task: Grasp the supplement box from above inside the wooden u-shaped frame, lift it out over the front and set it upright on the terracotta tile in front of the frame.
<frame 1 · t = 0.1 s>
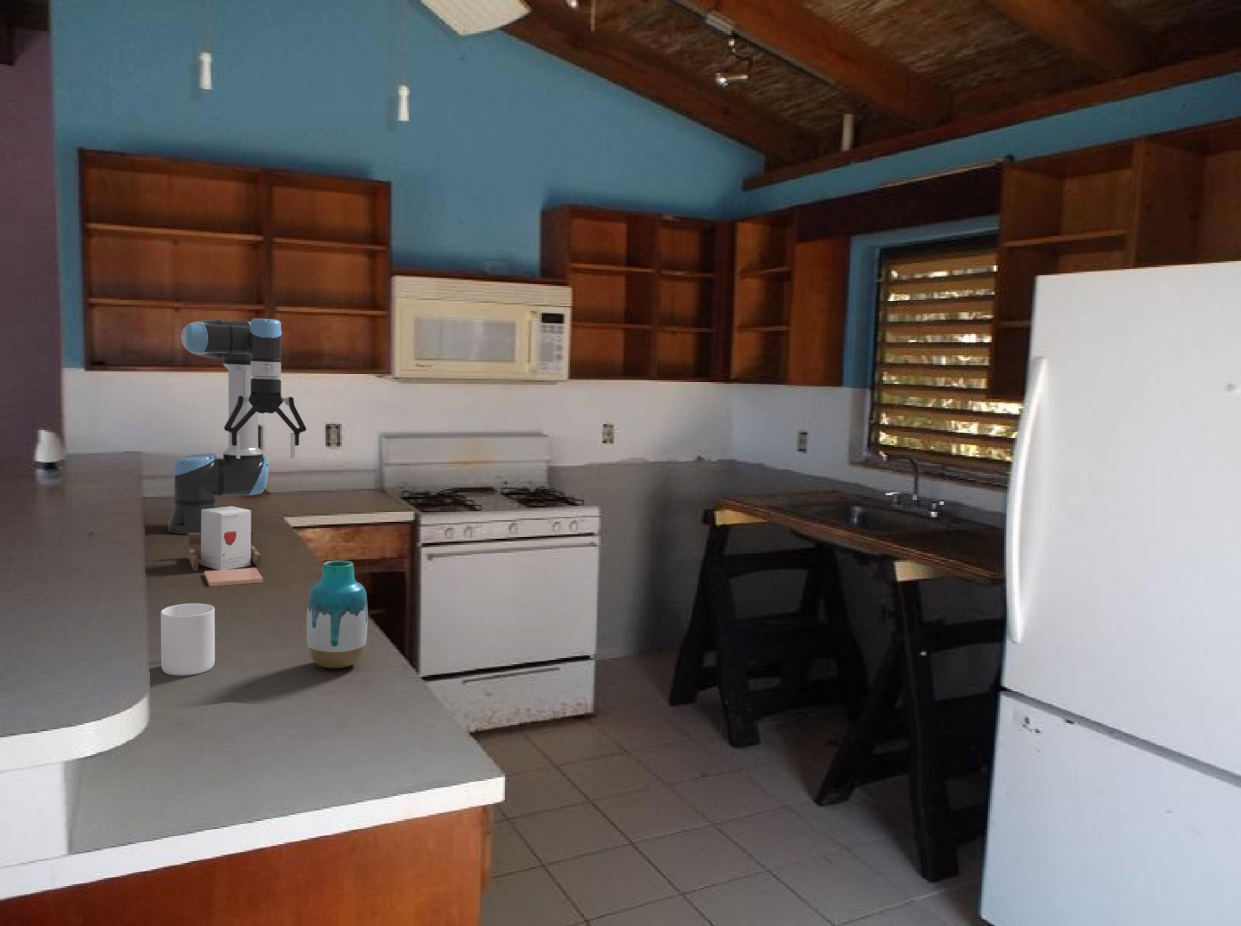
hand: (265, 458, 243), 28 cm above the counter, tool pointing down, fingers open, 13 cm apart
wooden u-shaped frame: (226, 565, 238), on the counter
supplement box: (226, 566, 238), on the counter
vase: (336, 666, 167), on the counter
mug: (187, 666, 164), on the counter
terracotta tile: (233, 578, 225), on the counter
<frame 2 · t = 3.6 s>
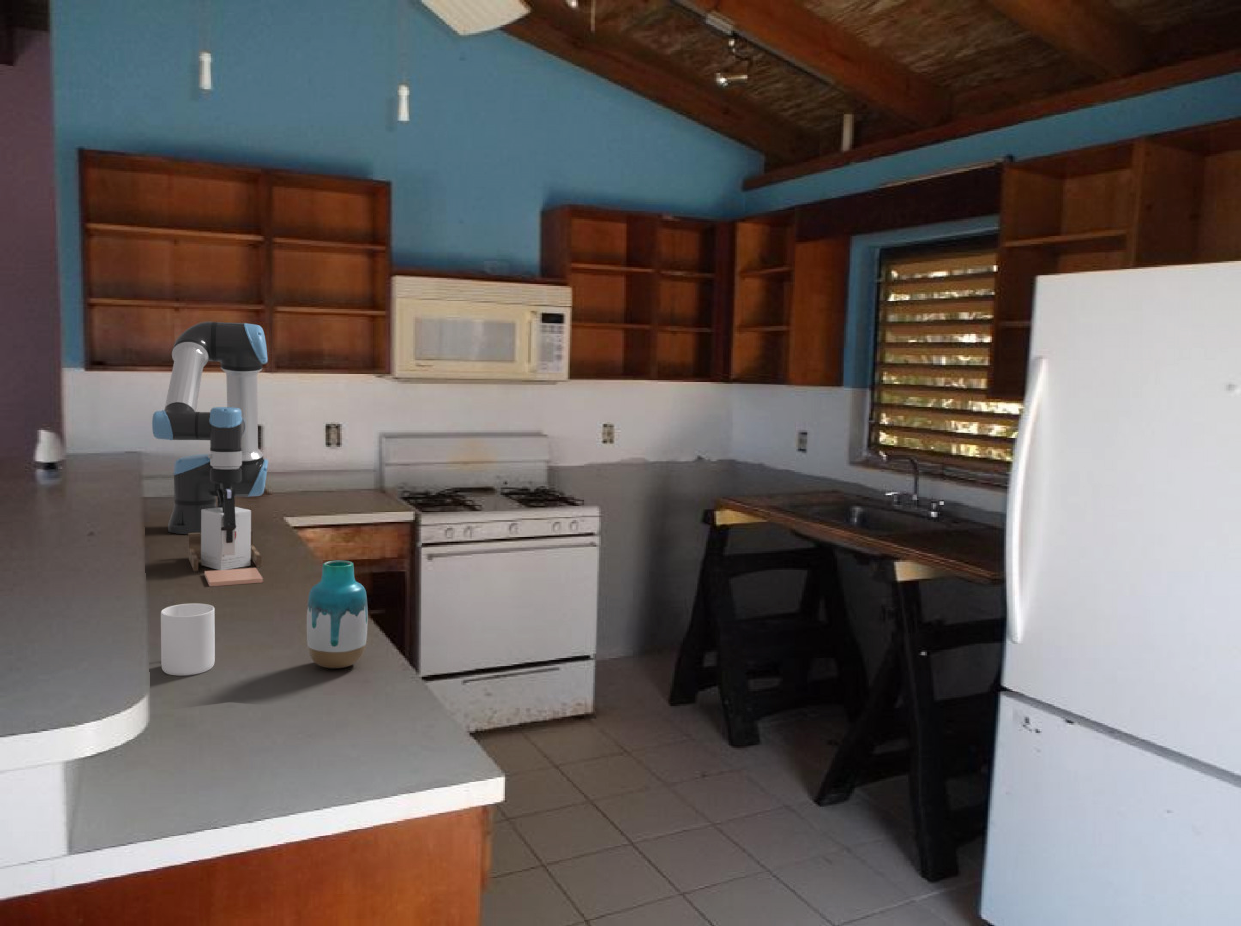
hand: (226, 550, 238), 4 cm above the counter, tool pointing down, fingers closed on supplement box, 11 cm apart
supplement box: (226, 566, 238), on the counter, touching gripper
everything else where it was.
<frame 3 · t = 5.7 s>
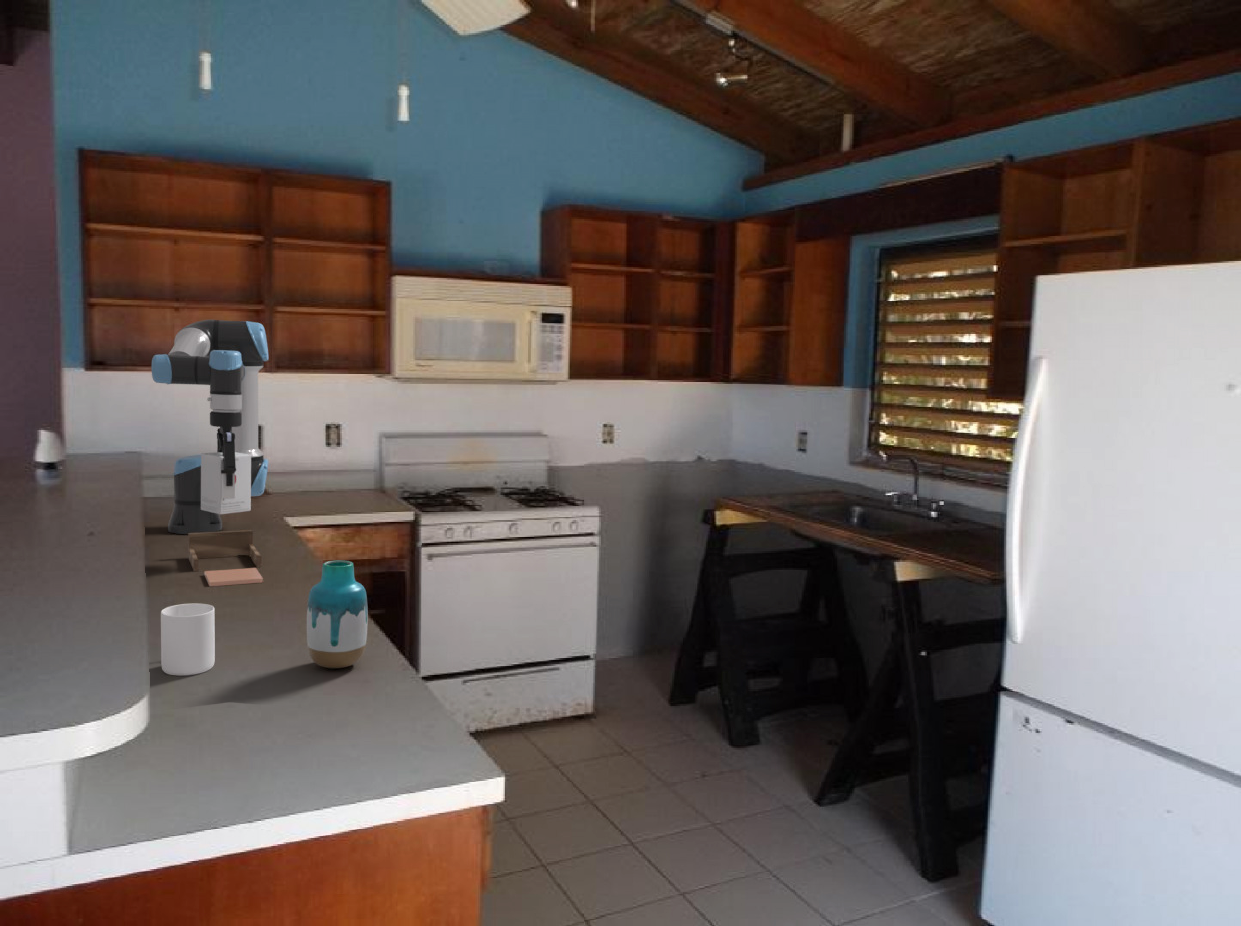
hand: (226, 494, 236), 19 cm above the counter, tool pointing down, fingers closed on supplement box, 11 cm apart
supplement box: (226, 511, 237), point 14 cm above the counter, touching gripper
everything else where it was.
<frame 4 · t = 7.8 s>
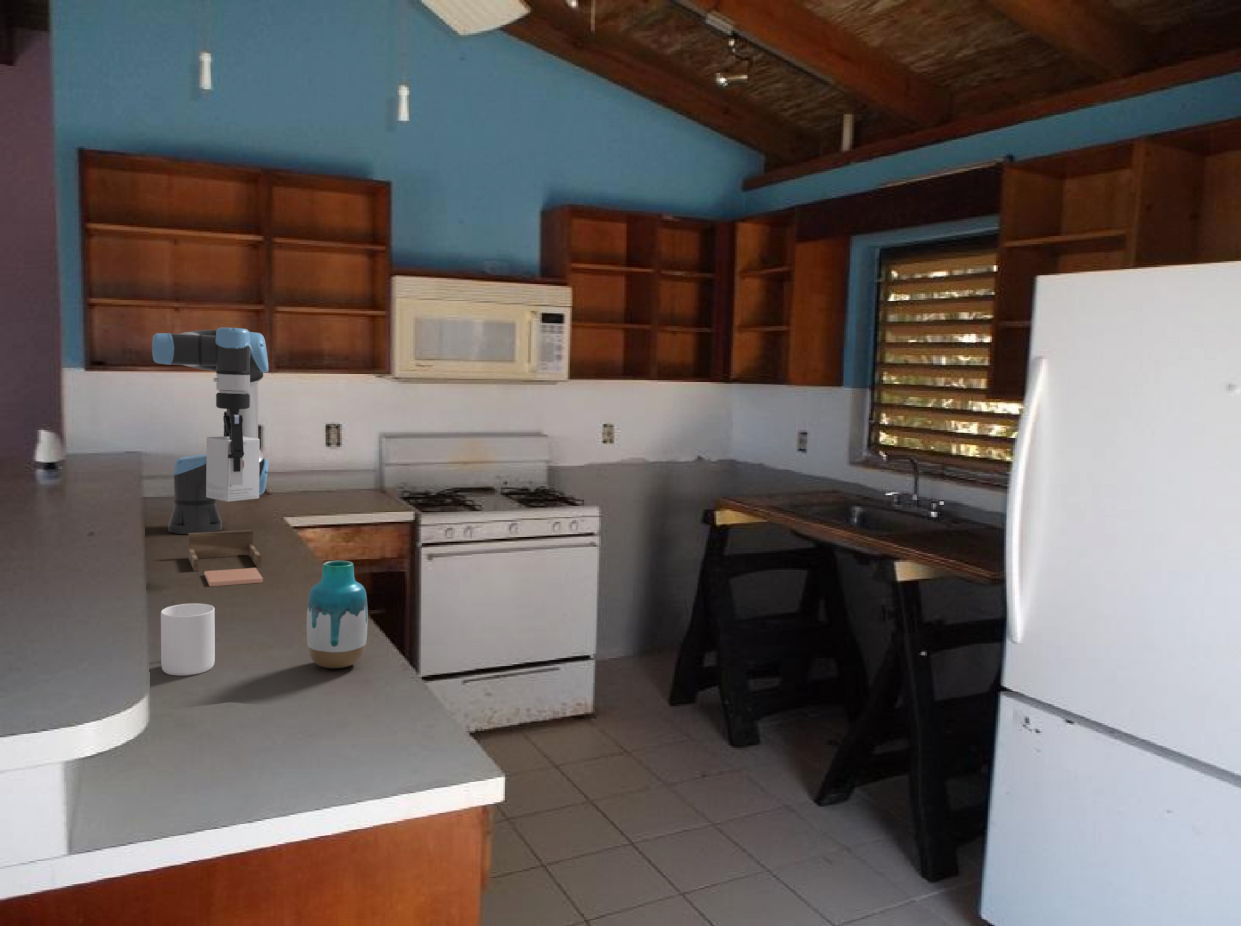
hand: (233, 481, 223), 24 cm above the counter, tool pointing down, fingers closed on supplement box, 11 cm apart
supplement box: (233, 499, 223), point 20 cm above the counter, touching gripper
everything else where it was.
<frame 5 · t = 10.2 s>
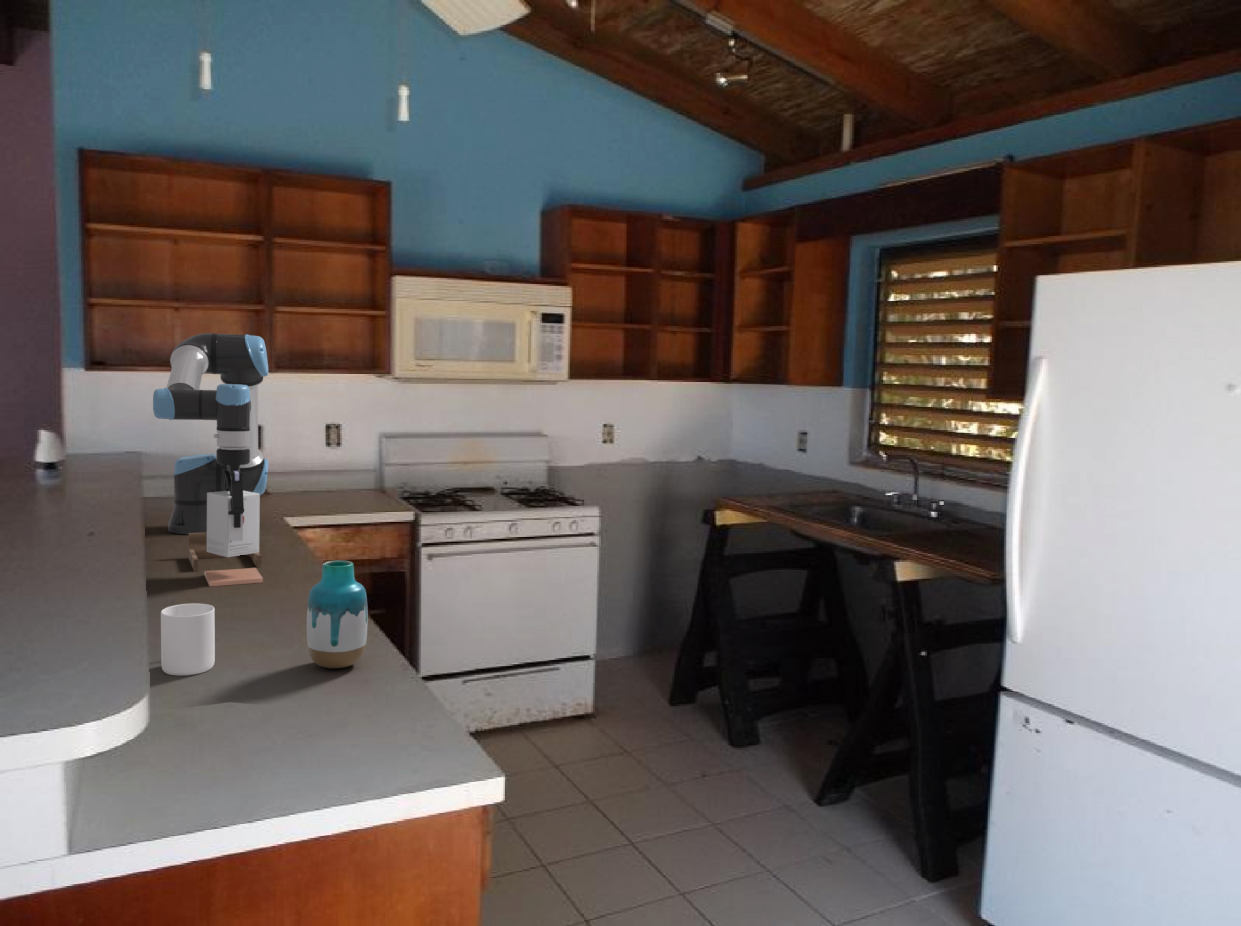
hand: (233, 536, 224), 11 cm above the counter, tool pointing down, fingers closed on supplement box, 11 cm apart
supplement box: (233, 553, 225), point 6 cm above the counter, touching gripper
everything else where it was.
when the fingers open (6 cm above the counter, at t = 12.3 s): supplement box stays where it is, resting on terracotta tile.
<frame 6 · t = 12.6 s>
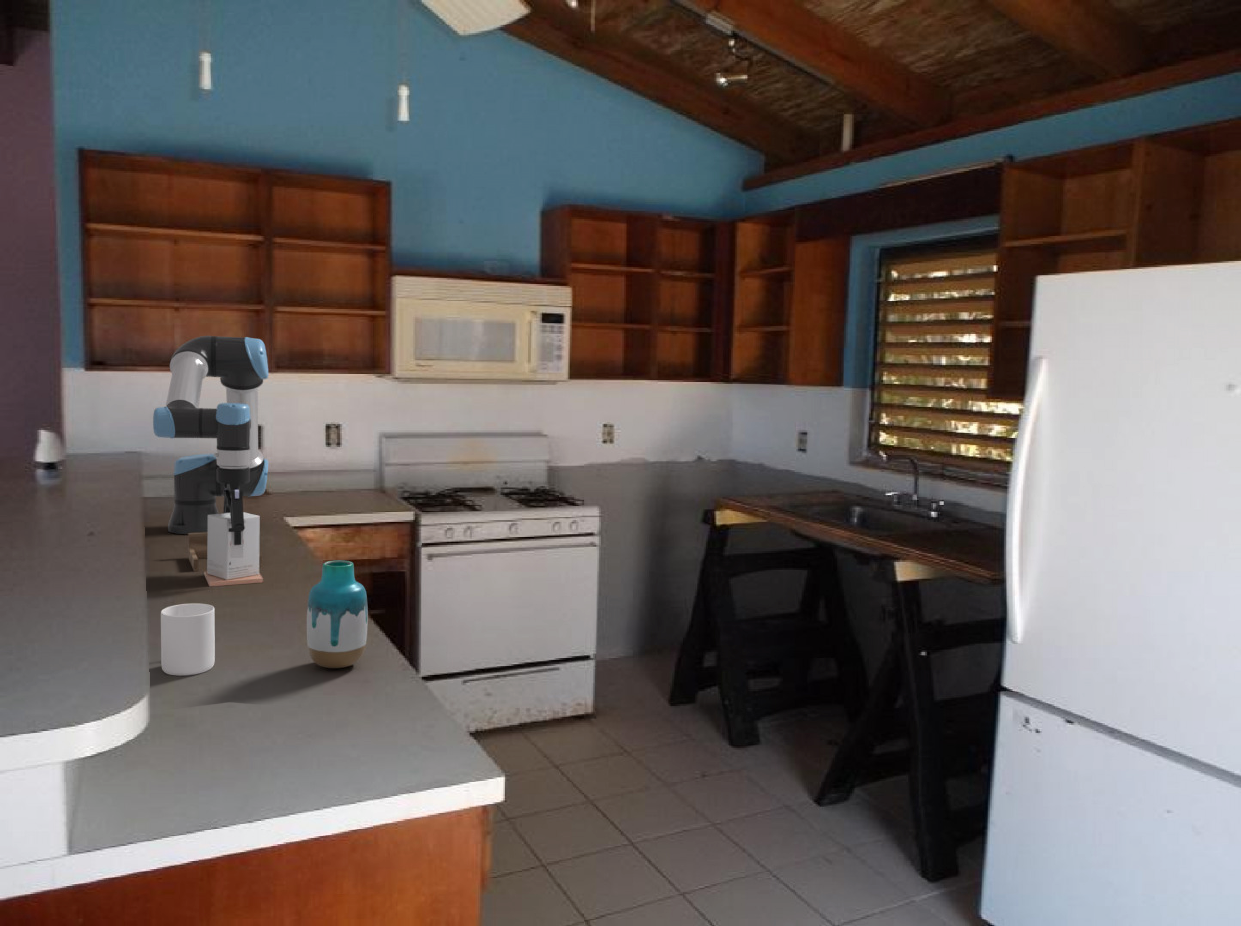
hand: (233, 552, 225), 7 cm above the counter, tool pointing down, fingers open, 13 cm apart
supplement box: (233, 575, 226), point 1 cm above the counter, touching terracotta tile
everything else where it was.
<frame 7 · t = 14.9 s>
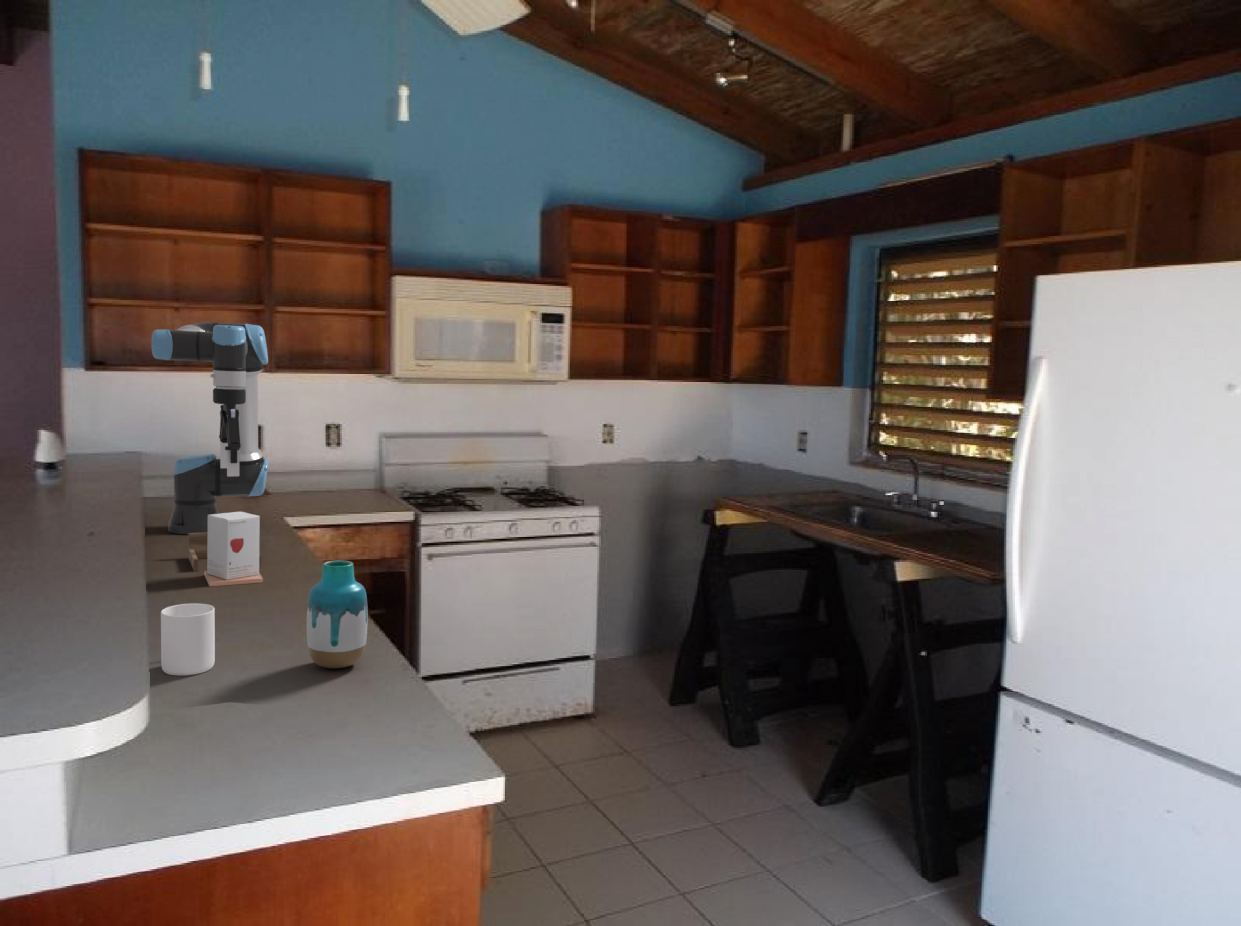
hand: (229, 472, 230), 26 cm above the counter, tool pointing down, fingers open, 13 cm apart
nothing on the counter moved.
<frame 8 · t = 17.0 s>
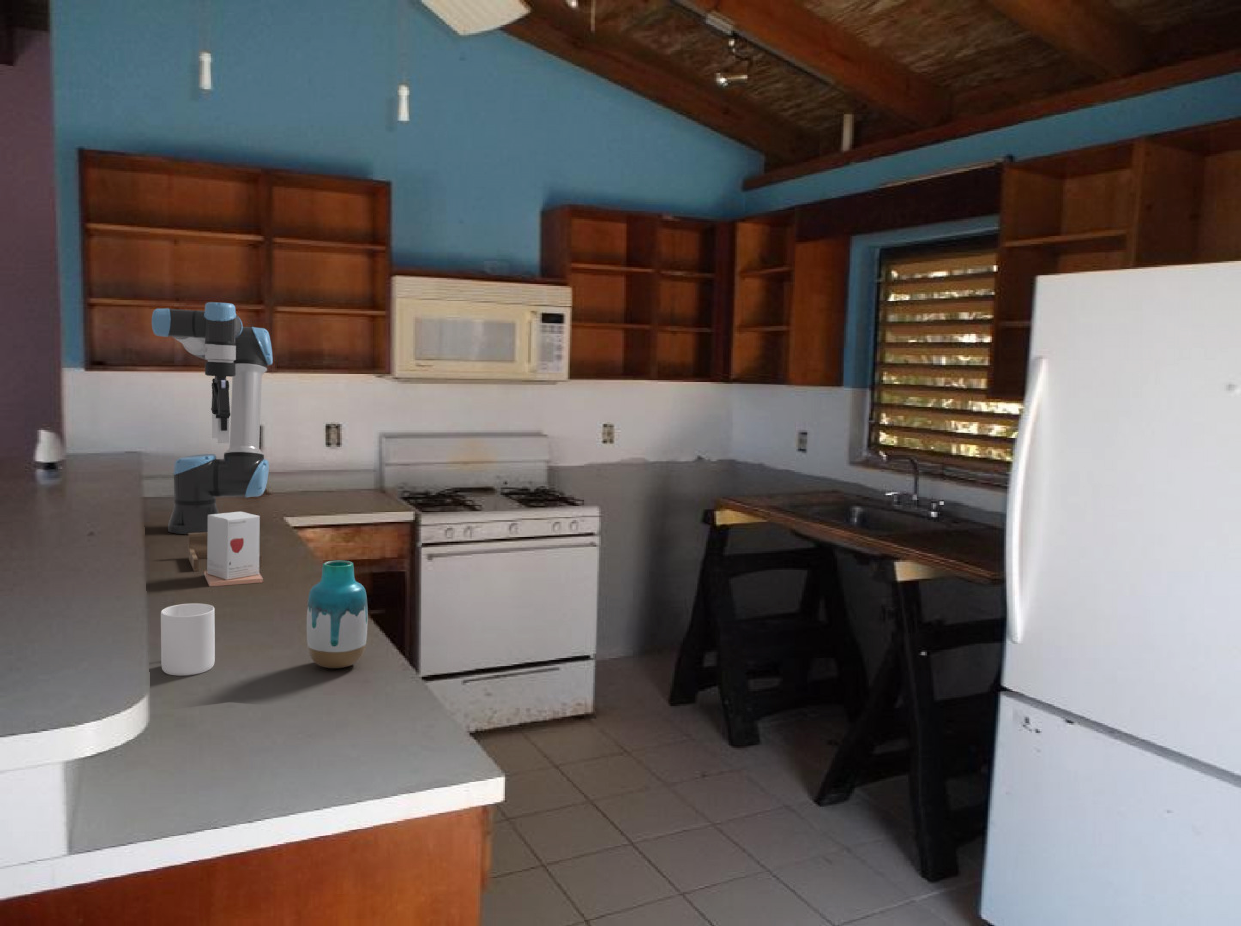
hand: (220, 440, 245), 32 cm above the counter, tool pointing down, fingers open, 13 cm apart
nothing on the counter moved.
at the end: supplement box inside the target area on the terracotta tile (0.3 cm from its centre), point 0.8 cm above the terracotta tile's base; supplement box tilted 0°; the gripper is holding nothing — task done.
